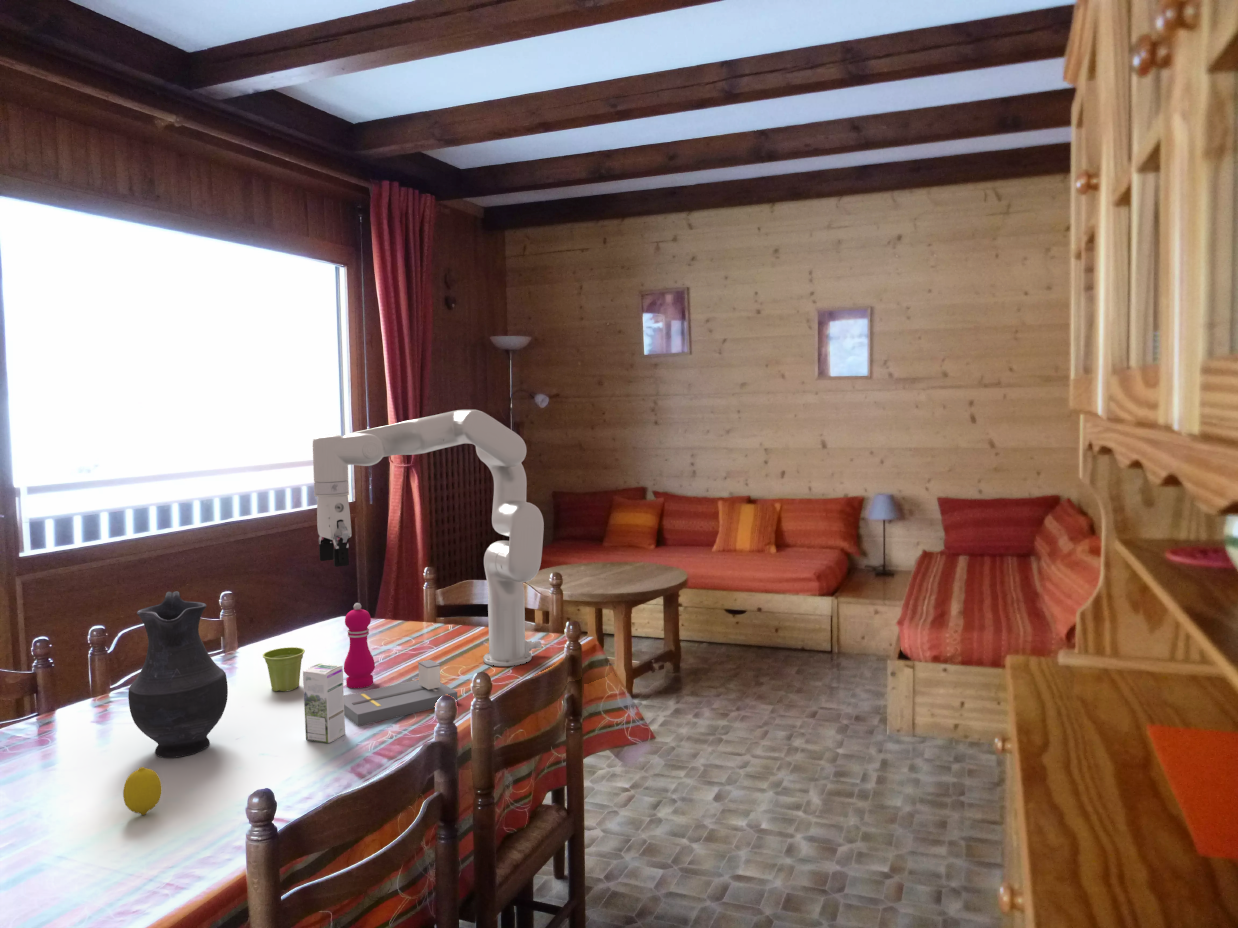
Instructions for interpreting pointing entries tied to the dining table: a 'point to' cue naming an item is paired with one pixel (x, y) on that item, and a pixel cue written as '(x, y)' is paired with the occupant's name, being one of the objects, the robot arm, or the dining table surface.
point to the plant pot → (284, 667)
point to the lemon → (142, 790)
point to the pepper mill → (358, 649)
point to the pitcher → (177, 680)
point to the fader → (429, 674)
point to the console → (392, 701)
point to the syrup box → (324, 703)
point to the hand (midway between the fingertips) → (334, 562)
